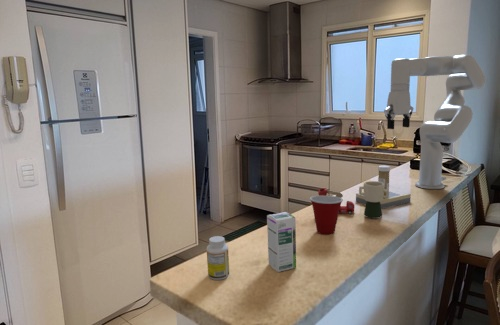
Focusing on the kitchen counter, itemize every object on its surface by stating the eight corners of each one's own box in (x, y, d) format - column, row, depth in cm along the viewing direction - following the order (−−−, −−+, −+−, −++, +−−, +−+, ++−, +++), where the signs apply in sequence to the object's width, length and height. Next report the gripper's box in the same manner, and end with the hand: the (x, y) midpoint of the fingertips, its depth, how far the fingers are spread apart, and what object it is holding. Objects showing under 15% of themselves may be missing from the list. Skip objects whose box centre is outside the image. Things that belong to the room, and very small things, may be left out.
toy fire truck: (355, 214, 136) (355, 190, 135) (318, 214, 138) (319, 190, 136) (353, 211, 140) (354, 187, 138) (318, 211, 141) (318, 188, 139)
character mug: (390, 217, 132) (392, 183, 130) (384, 222, 127) (386, 187, 124) (361, 211, 139) (362, 179, 136) (355, 217, 133) (356, 183, 131)
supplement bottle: (218, 268, 97) (217, 233, 95) (233, 274, 93) (232, 237, 91) (203, 276, 92) (201, 239, 91) (218, 283, 89) (216, 245, 87)
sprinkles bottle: (391, 198, 149) (392, 166, 146) (381, 199, 148) (382, 167, 145) (384, 195, 153) (385, 164, 151) (375, 196, 152) (376, 165, 150)
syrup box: (277, 273, 93) (276, 220, 91) (267, 263, 99) (266, 213, 96) (296, 268, 95) (296, 216, 93) (285, 259, 101) (285, 210, 98)
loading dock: (385, 194, 161) (385, 187, 160) (410, 202, 149) (410, 193, 149) (355, 201, 152) (356, 193, 152) (379, 209, 141) (379, 200, 141)
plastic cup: (343, 227, 123) (344, 194, 121) (340, 239, 113) (341, 203, 111) (312, 224, 127) (312, 192, 125) (307, 236, 117) (307, 201, 115)
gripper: (406, 88, 160) (404, 126, 164) (378, 89, 152) (377, 129, 156) (420, 87, 154) (418, 127, 157) (393, 88, 146) (391, 130, 149)
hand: (398, 128), depth 156 cm, fingers open, 9 cm apart
